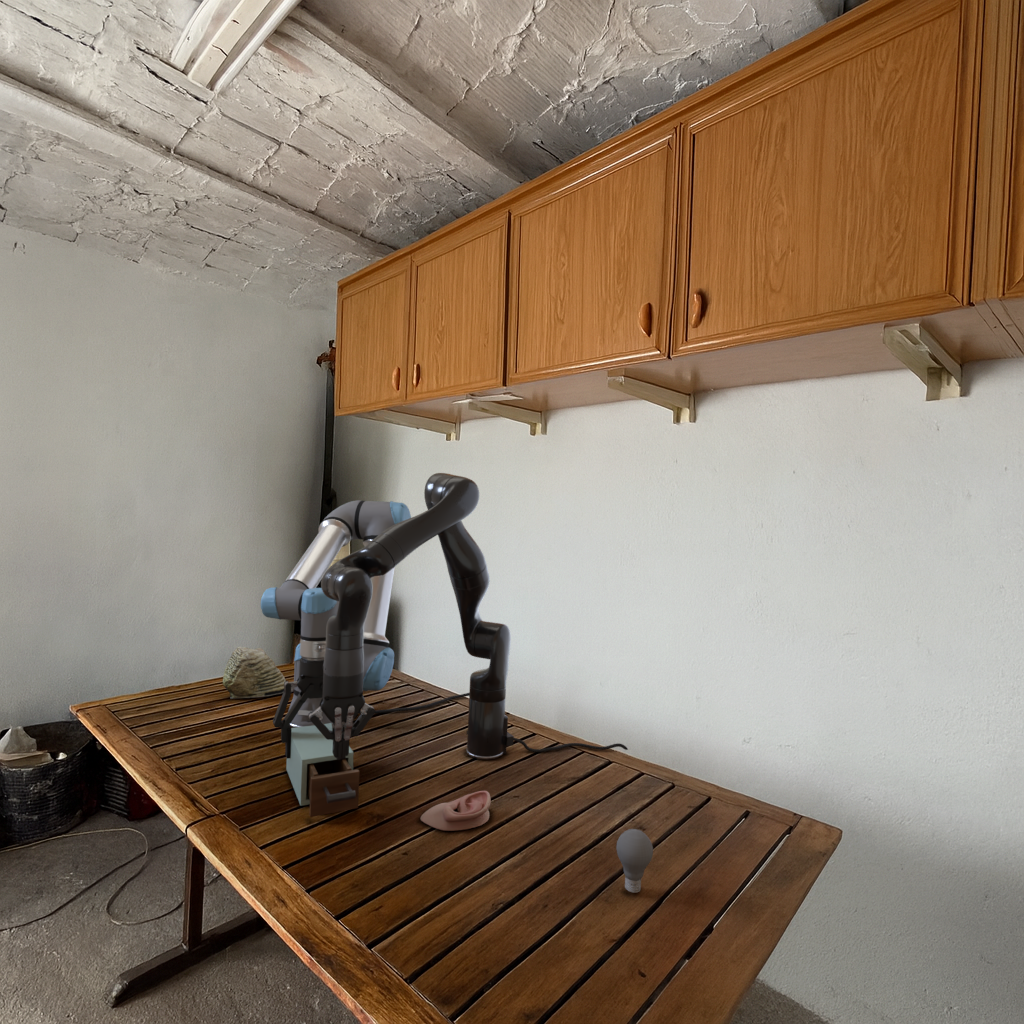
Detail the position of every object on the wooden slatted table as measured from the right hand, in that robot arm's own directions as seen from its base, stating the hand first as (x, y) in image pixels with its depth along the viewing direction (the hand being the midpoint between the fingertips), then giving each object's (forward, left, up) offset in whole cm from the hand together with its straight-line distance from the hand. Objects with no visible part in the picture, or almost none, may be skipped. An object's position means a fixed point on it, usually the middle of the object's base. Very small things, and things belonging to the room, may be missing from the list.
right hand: (340, 758), depth 122 cm
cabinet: (0, -20, -13) cm, 24 cm away
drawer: (0, -9, -12) cm, 15 cm away
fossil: (+4, -89, -13) cm, 90 cm away
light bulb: (-39, +41, -13) cm, 58 cm away
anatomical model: (-22, +7, -13) cm, 26 cm away
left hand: (-1, -26, -9) cm, 27 cm away
